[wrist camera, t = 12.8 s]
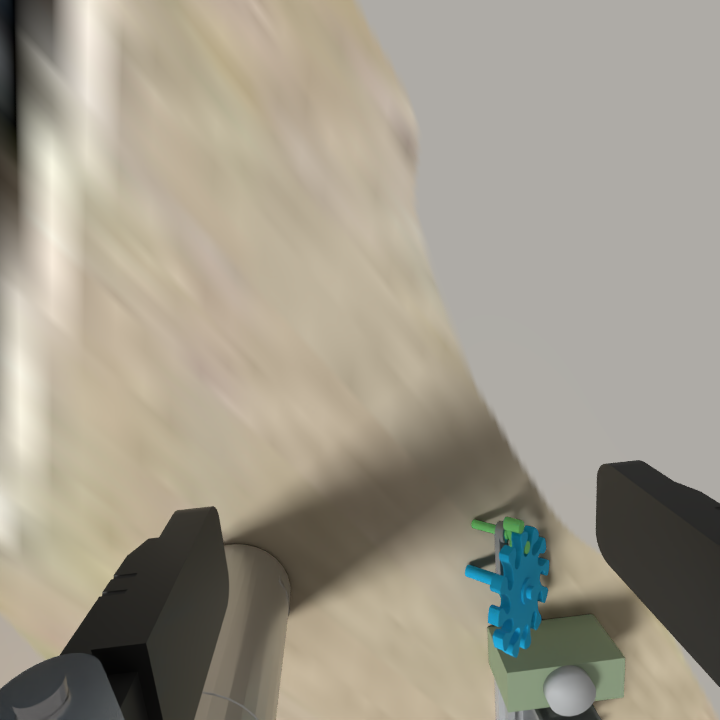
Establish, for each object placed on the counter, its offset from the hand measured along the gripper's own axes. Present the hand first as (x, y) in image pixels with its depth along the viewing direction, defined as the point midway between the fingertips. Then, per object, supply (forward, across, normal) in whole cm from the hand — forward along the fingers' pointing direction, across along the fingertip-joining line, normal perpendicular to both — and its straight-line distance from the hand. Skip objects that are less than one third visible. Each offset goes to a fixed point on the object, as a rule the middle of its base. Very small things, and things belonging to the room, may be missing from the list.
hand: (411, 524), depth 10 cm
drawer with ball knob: (+28, -15, +36) cm, 48 cm away
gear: (+28, -12, +22) cm, 38 cm away
